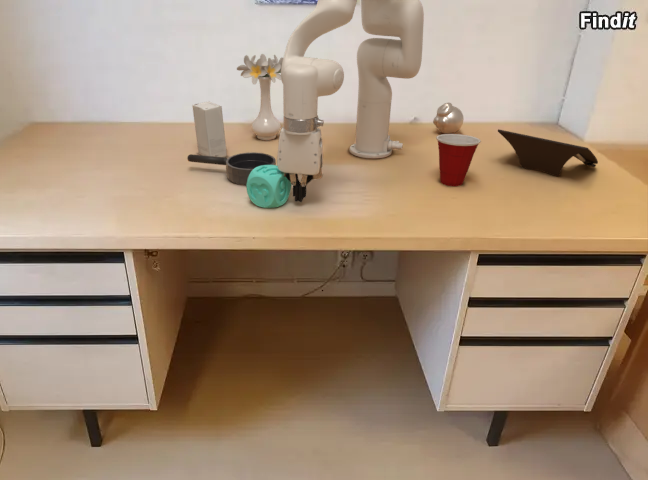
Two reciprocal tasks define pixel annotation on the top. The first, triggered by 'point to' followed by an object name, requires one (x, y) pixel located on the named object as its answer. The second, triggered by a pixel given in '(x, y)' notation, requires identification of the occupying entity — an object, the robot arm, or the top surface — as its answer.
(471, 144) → the plastic cup
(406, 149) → the top surface
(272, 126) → the flower vase
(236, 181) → the pan
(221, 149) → the cosmetic box
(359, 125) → the robot arm
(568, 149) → the laptop tray
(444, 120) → the silver rounded lump
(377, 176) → the top surface
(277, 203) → the decorative dice
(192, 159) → the pan handle
